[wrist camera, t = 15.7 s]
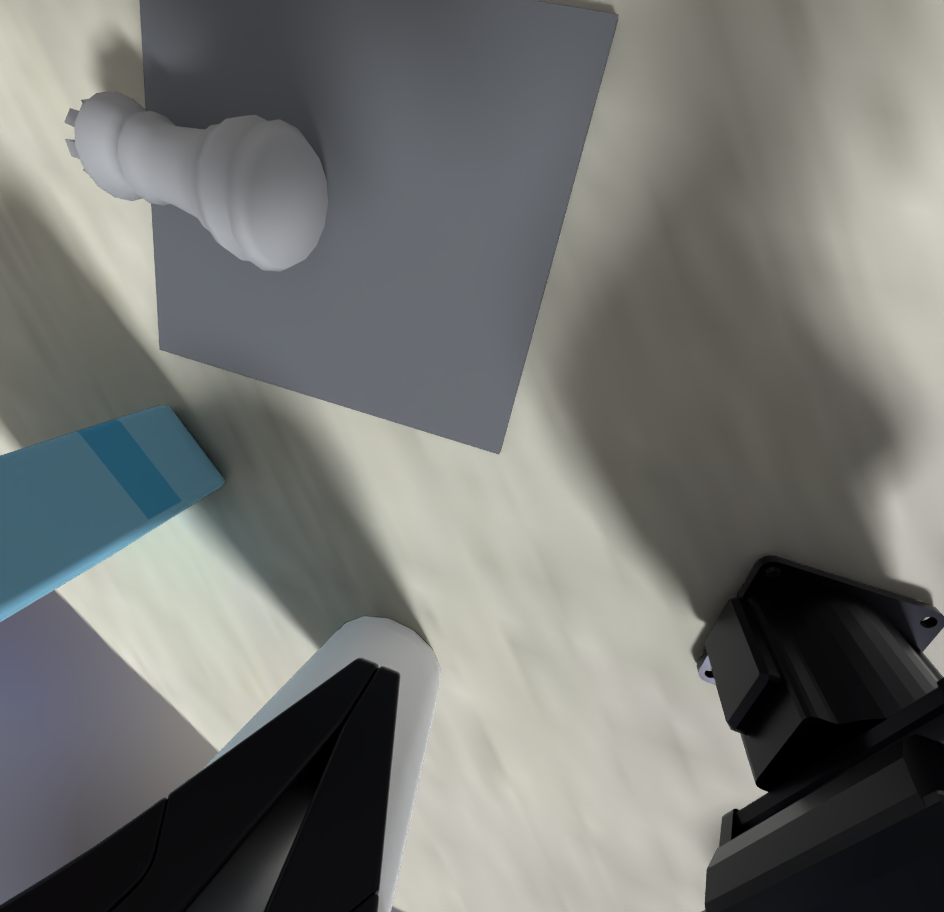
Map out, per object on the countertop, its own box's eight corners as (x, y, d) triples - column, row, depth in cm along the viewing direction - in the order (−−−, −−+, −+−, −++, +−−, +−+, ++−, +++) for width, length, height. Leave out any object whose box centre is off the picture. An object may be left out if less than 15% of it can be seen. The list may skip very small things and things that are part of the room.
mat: (617, 21, 14) (618, 14, 13) (500, 451, 20) (498, 454, 19) (146, -61, 16) (135, -69, 16) (166, 348, 22) (159, 349, 21)
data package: (182, 396, 23) (-202, 517, 12) (240, 475, 23) (-67, 654, 13) (59, 493, 27) (-297, 643, 16) (111, 555, 28) (-194, 737, 17)
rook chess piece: (224, 255, 14) (19, 179, 15) (312, 289, 18) (147, 228, 19) (263, 87, 13) (41, 24, 14) (346, 165, 17) (170, 111, 18)
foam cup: (326, 715, 29) (136, 1027, 17) (290, 586, 25) (25, 862, 14) (478, 738, 26) (381, 1123, 14) (460, 599, 23) (315, 949, 11)
